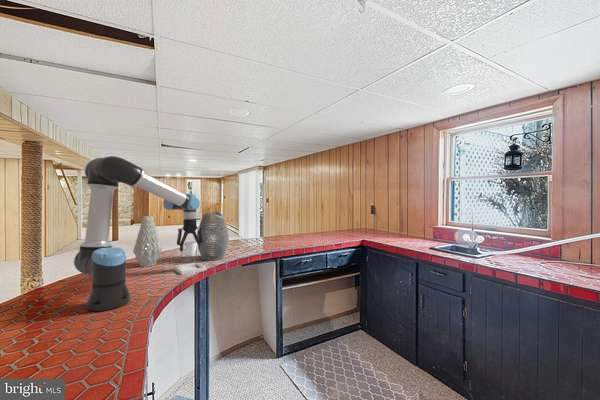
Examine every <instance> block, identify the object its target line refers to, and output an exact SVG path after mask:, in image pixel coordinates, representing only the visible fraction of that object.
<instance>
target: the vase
mask: <svg viewBox="0 0 600 400" xmlns="http://www.w3.org/2000/svg"><path fill="white" fill-rule="evenodd" d="M162 251H163V247H162V244H161V242H160V237H159V234H158V230H157V228H156V223H155V220H154V217H153V216H152V215H150V216H149V215H146V216H142V220H141V224H140V227H139V231H138V234H137V236H136V240H135V244H134V247H133V251H132V253H133V254H134V255H135V260H136V261H137V263H138V264H139V266H140V267H151V266H155V265H156V264H157V262H158V260H159V258H160V256H161V252H162Z"/></svg>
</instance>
